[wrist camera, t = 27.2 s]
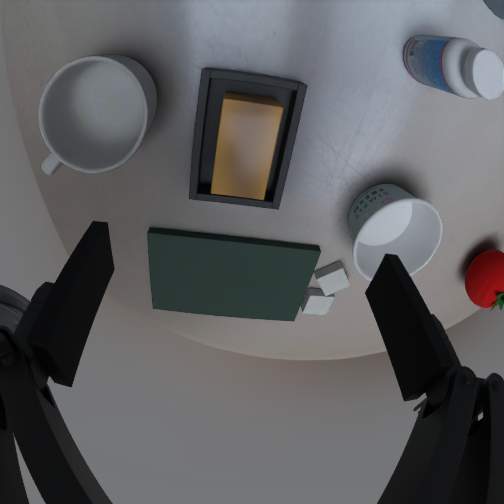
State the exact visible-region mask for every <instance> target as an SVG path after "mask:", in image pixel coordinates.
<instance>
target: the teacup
mask: <svg viewBox="0 0 504 504" xmlns="http://www.w3.org/2000/svg"><path fill="white" fill-rule="evenodd" d="M156 109H157V92H156V87H155V84H154V82H153V79H152V77H151V76H150V74H149V73H148V71H147V70H146V69H145V68H144V67H143V66H142V65H141V64H139V63H138V62H136V61H135V60H133V59H130V58H128V57H125V56H121V55H99V56H86V57H82V58H78V59H76V60H74V61H71V62H69V63H68V64H66V65H64V66H63V67H62V68H60V69H59V70H58V71H57V72H56V73H55V74H54V75H53V76H52V77H51V79H50V81H49V82H48V83H47V86H46V87H45V90H44V91H43V94H42V96H41V100H40V104H39V114H38V117H39V126H40V131H41V134H42V137H43V139H44V141H45V143H46V145H47V146H48V148H49V150H50V151H51V153H50V154H49V155H48V156H47V157H46V159H45V160H44V162H43V163H42V166H41V168H42V170H43V172H44V173H45V174H47V175H49V176H50V175H52V174H54V173H55V172H56V171H57V170H58V169H59V168H60V167H61V165H62V164H63V163H64V164H65V165H67V166H69V167H71V168H72V169H75V170H77V171H80V172H85V173H102V172H106V171H110V170H112V169H114V168H117V167H119V166H120V165H122V164H123V163H125V162H126V161H127V160H129V159H130V158H131V157H132V156H133V154H134V153H135V152H136V151H137V149H138V148H139V146H140V144H141V142H142V140H143V138H144V137H145V135H146V134H147V132H148V130H149V128H150V127H151V125H152V122H153V120H154V117H155V114H156Z"/></svg>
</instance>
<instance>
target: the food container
mask: <svg viewBox="0 0 504 504" xmlns="http://www.w3.org/2000/svg"><path fill="white" fill-rule="evenodd" d="M348 222H349V228H350V233H351V237H352V242H353V262H354V265H355V267H356V269H357V271H358V272H359V273H360V274H361V275H362V276H363V277H364V278H366V279H368V280H370V281H372V279H373V277H374V275H375V273H376V271H377V269H378V267H379V265H380V263H381V261H382V259H383V257H384V255H385V253H387V254H395V255H398V256H399V258H400V260H401V261H402V263H403V265H404V267H405V268H406V270H407V272H408V273H409V275H410V276H412V275H413V274H415V273H416V272H418V271H419V270H420V269H422V268H423V267H424V266H425V265H426V264H427V263H428V262H429V261H430V260H431V258H432V257H433V256H434V254H435V252H436V251H437V249H438V247H439V244H440V242H441V238H442V233H443V224H442V219H441V216H440V214H439V212H438V210H437V209H436V208H435V207H434V206H433V205H432V204H431V203H429V202H427V201H425V200H422V199H418V198H416V197H414V196H413V195H411V194H410V193H408V192H406V191H405V190H403V189H402V188H400V187H398V186H396V185H392V184H380V185H376V186H373V187H371V188H369V189H367V190H366V191H364V192H363V193H362V194H361V195H360V196H359V197H358V198H357V199H356V201H355V202H354V204H353V205H352V207H351V210H350V213H349V219H348Z"/></svg>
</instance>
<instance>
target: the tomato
mask: <svg viewBox="0 0 504 504" xmlns="http://www.w3.org/2000/svg"><path fill="white" fill-rule="evenodd" d="M465 289H466V292H467V294H468V296H469V298H470V300H471V301H472V302H473V303H474V304H476V305H477V306H480V307H483V308H490V307H493V308H494V307H495V306H497V305H498V304H499V307H500V310H502V307H503V304H504V253H503V252H501V251H499V250H488V251H484V252H482V253H481V254H479V255H478V256H477V257H475V258H474V260H473V261H472V262H471V264H470V265H469V267H468V270H467V273H466V276H465ZM493 308H492V309H493ZM492 309H491V310H492Z"/></svg>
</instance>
